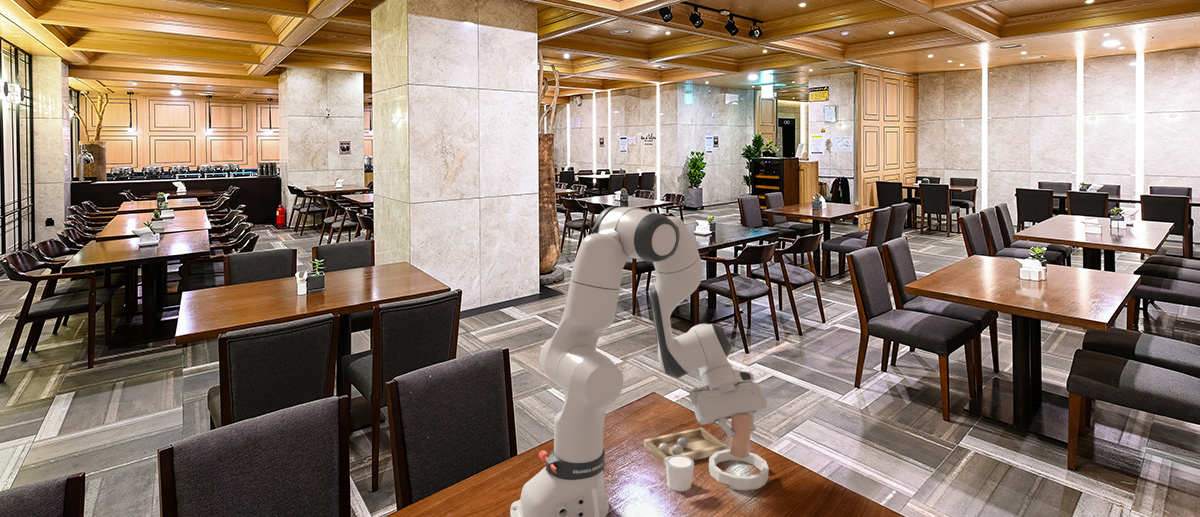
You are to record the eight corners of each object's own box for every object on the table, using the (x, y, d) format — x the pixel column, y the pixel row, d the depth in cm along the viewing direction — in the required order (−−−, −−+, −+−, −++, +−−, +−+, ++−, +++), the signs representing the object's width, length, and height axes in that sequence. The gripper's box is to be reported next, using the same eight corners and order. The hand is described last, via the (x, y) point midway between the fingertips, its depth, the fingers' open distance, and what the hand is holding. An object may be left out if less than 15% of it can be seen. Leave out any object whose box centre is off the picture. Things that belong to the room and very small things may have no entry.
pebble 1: (661, 457, 163) (661, 447, 162) (655, 452, 165) (656, 442, 165) (671, 455, 164) (671, 445, 163) (665, 450, 167) (665, 440, 166)
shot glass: (692, 497, 146) (693, 470, 145) (663, 493, 147) (664, 466, 146) (693, 482, 153) (694, 456, 151) (666, 478, 154) (667, 453, 153)
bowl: (732, 495, 147) (732, 483, 146) (698, 467, 160) (698, 456, 159) (779, 482, 153) (780, 470, 152) (742, 456, 166) (743, 445, 165)
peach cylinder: (737, 459, 152) (739, 421, 150) (726, 450, 156) (727, 414, 155) (753, 455, 154) (755, 418, 152) (741, 447, 158) (743, 410, 157)
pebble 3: (673, 444, 163) (684, 448, 162) (674, 441, 166) (684, 445, 165) (669, 454, 163) (680, 459, 162) (670, 451, 166) (681, 456, 165)
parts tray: (666, 469, 158) (666, 459, 158) (643, 449, 169) (643, 439, 168) (726, 455, 166) (726, 445, 166) (701, 436, 177) (701, 427, 176)
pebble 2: (686, 445, 170) (675, 445, 170) (687, 435, 169) (676, 435, 169) (687, 451, 167) (676, 450, 167) (688, 441, 166) (677, 440, 166)
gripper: (692, 384, 154) (713, 437, 147) (757, 372, 162) (780, 421, 156) (682, 394, 159) (702, 446, 152) (745, 382, 167) (767, 430, 160)
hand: (742, 433), depth 154 cm, fingers closed on peach cylinder, 5 cm apart
